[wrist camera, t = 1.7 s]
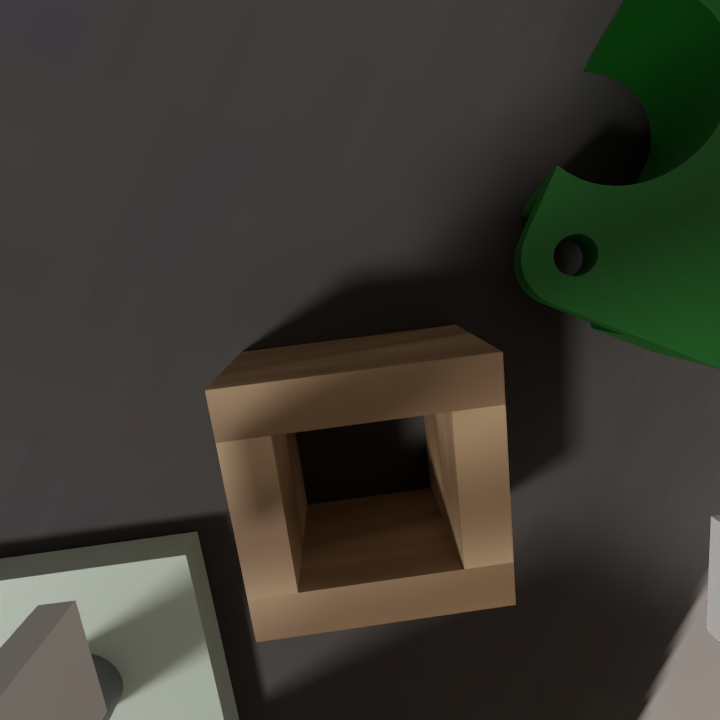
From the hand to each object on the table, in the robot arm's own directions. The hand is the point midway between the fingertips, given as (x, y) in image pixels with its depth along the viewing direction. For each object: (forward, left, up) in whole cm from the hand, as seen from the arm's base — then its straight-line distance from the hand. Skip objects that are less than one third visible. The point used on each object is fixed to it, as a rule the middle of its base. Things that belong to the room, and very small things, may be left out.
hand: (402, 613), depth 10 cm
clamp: (-9, +10, -9) cm, 16 cm away
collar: (0, 0, -9) cm, 9 cm away
